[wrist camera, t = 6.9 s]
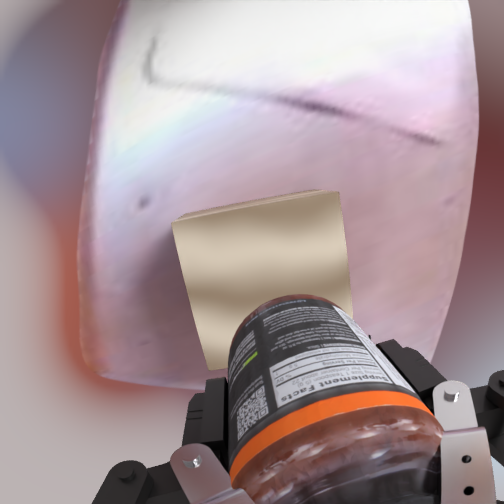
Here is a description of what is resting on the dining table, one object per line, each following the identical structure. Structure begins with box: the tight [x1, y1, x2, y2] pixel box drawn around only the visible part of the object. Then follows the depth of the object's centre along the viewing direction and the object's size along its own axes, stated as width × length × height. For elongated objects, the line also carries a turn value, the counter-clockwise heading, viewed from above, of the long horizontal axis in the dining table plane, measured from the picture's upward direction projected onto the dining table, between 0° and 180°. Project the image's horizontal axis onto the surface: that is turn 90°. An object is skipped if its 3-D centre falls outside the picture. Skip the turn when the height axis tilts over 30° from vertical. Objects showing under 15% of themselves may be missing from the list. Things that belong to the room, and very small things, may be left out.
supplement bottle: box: [228, 294, 444, 504], centre depth 9 cm, size 6×6×11 cm
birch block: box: [171, 190, 353, 371], centre depth 27 cm, size 12×12×7 cm
